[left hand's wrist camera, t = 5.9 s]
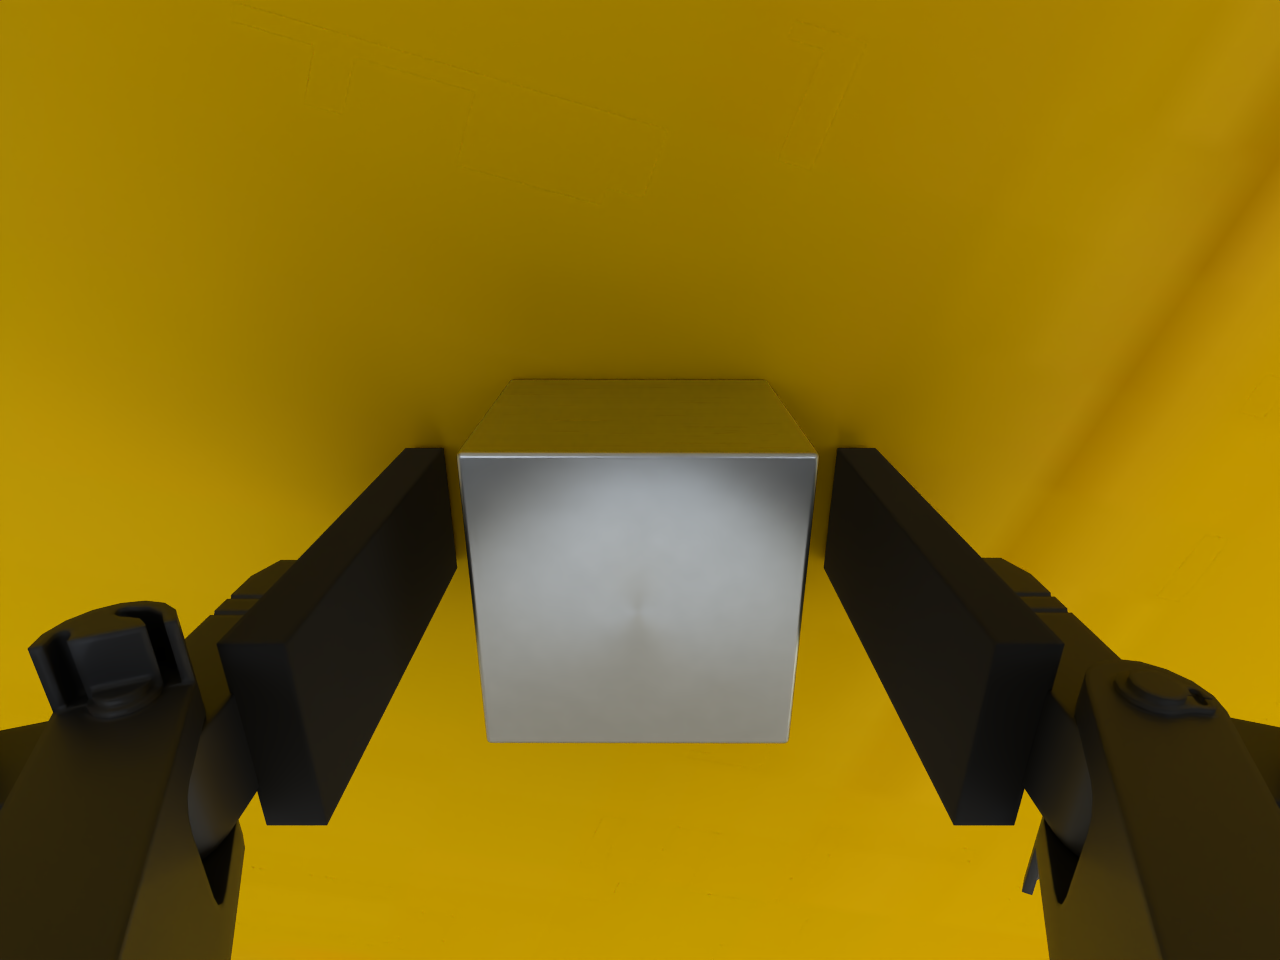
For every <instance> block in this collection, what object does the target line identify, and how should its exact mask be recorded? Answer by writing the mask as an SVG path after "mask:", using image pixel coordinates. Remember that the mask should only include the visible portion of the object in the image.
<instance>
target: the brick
mask: <svg viewBox="0 0 1280 960" xmlns="http://www.w3.org/2000/svg"><path fill="white" fill-rule="evenodd" d="M818 462H819V455H818V452H817V451H816V450H815V448H814V447H813V445H812V444H811V442H810V441H809V440H808V438H807V437H806V435H805V434H804V433H803V431H802V430H801V428H800V427H799V426H798V424H797V423H796V421H795V420H794V418H793V417H792V416H791V414H790V413H789V411H788V410H787V409H786V407H785V406H784V404H783V403H782V401H781V400H780V399H779V397H778V396H777V394H776V393H775V392H774V390H773V389H772V387H771V386H770V385H769V383H768V382H767V381H766V380H511V381H510V382H509V383H508V385H507V386H506V387H505V389H504V390H503V391H502V393H501V394H500V396H499V397H498V398H497V400H496V401H495V402H494V404H493V405H492V406H491V408H490V409H489V411H488V412H487V413H486V415H485V416H484V417H483V419H482V420H481V421H480V423H479V424H478V426H477V427H476V428H475V430H474V431H473V432H472V434H471V435H470V436H469V438H468V439H467V441H466V442H465V443H464V445H463V446H462V447H461V449H460V450H459V451H458V453H457V465H458V474H459V483H460V493H461V502H462V511H463V521H464V530H465V539H466V548H467V558H468V567H469V576H470V586H471V595H472V604H473V613H474V623H475V632H476V641H477V651H478V660H479V669H480V678H481V688H482V697H483V706H484V716H485V725H486V734H487V740H488V742H491V743H786V742H788V740H789V733H790V723H791V714H792V705H793V695H794V686H795V677H796V667H797V658H798V649H799V640H800V630H801V621H802V612H803V602H804V593H805V584H806V574H807V565H808V556H809V546H810V537H811V528H812V518H813V509H814V500H815V490H816V481H817V472H818Z"/></svg>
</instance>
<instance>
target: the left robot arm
mask: <svg viewBox="0 0 1280 960" xmlns="http://www.w3.org/2000/svg"><path fill="white" fill-rule="evenodd" d="M456 569H457V562H456V553H455V545H454V536H453V527H452V518H451V510H450V501H449V492H448V483H447V475H446V466H445V457H444V448H405V449H404V450H403V451H402V452H401V454H400V455H399V456H398V457H397V458H396V459H395V460H394V461H393V462H392V463H391V464H390V465H389V466H388V467H387V468H386V469H385V470H384V471H383V472H382V473H381V474H380V475H379V476H378V477H377V478H376V479H375V480H374V481H373V482H372V483H371V484H370V486H369V487H368V488H367V489H366V490H365V491H364V492H363V493H362V494H361V495H360V496H359V497H358V498H357V499H356V500H355V501H354V502H353V503H352V504H351V505H350V506H349V507H348V508H347V509H346V510H345V511H344V512H343V513H342V514H341V515H340V516H339V518H338V519H337V520H336V521H335V522H334V523H333V524H332V525H331V526H330V527H329V528H328V529H327V530H326V531H325V532H324V533H323V534H322V535H321V536H320V537H319V538H318V539H317V540H316V541H315V542H314V543H313V544H312V545H311V546H310V547H309V549H308V550H307V551H306V552H305V553H304V554H303V555H302V556H301V557H300V558H299V559H298V560H280V561H278V562H276V563H275V564H273V565H271V566H269V567H267V568H265V569H263V570H262V571H260V572H258V573H256V574H254V575H252V576H251V577H250V578H249V579H248V580H247V581H245V582H244V583H243V584H242V585H241V586H240V587H239V588H238V589H237V590H236V591H235V592H234V593H233V594H232V595H231V599H227V600H226V601H224V602H223V603H222V604H221V605H220V606H219V607H218V608H217V609H216V610H215V611H214V612H215V613H214V615H210V616H209V617H208V618H207V619H206V620H204V621H203V622H202V623H201V624H200V625H199V626H198V627H197V628H196V629H195V630H194V631H193V632H192V633H191V634H190V635H189V636H188V637H187V638H186V639H184V636H183V632H182V629H181V626H180V622H179V619H178V616H177V612H176V610H175V609H174V608H172V607H171V606H169V605H167V604H166V603H161V602H152V601H138V602H128V603H119V604H115V605H111V606H107V607H103V608H99V609H95V610H92V611H89V612H87V613H84V614H82V615H79V616H77V617H74V618H72V619H69V620H66V621H64V622H63V623H61V624H59V625H58V626H56V627H54V628H52V629H51V630H49V631H47V632H45V633H44V634H42V635H41V636H40V637H39V638H38V639H37V640H36V641H35V642H34V643H33V644H32V645H31V646H30V647H29V648H28V651H29V654H30V656H31V658H32V661H33V663H34V666H35V668H36V671H37V673H38V676H39V678H40V681H41V683H42V686H43V688H44V691H45V693H46V696H47V698H48V701H49V703H50V706H51V708H52V710H53V714H52V716H51V718H50V719H49V721H47V722H42V723H37V724H32V725H27V726H21V727H16V728H11V729H6V730H1V731H0V960H231V953H232V945H233V937H234V929H235V921H236V913H237V905H238V898H239V890H240V882H241V874H242V866H243V858H244V851H245V846H244V840H243V834H242V830H241V827H240V824H239V820H238V819H239V818H240V816H241V815H242V813H243V812H244V810H245V809H246V807H247V805H248V804H249V802H250V801H251V799H252V798H253V796H254V795H255V793H256V792H258V796H259V799H260V803H261V806H262V810H263V813H264V817H265V821H266V824H267V825H327V824H328V822H329V820H330V818H331V816H332V814H333V812H334V810H335V808H336V807H337V805H338V803H339V801H340V799H341V797H342V795H343V793H344V791H345V789H346V787H347V785H348V783H349V781H350V779H351V777H352V775H353V773H354V771H355V769H356V767H357V765H358V763H359V761H360V759H361V757H362V755H363V753H364V751H365V749H366V747H367V745H368V743H369V741H370V739H371V737H372V735H373V733H374V731H375V729H376V727H377V725H378V723H379V721H380V719H381V717H382V715H383V714H384V712H385V710H386V708H387V706H388V704H389V702H390V700H391V698H392V696H393V694H394V692H395V690H396V688H397V686H398V684H399V682H400V680H401V678H402V676H403V674H404V672H405V670H406V668H407V666H408V664H409V662H410V660H411V658H412V656H413V654H414V652H415V650H416V648H417V646H418V644H419V642H420V640H421V638H422V636H423V634H424V632H425V630H426V628H427V626H428V624H429V622H430V621H431V619H432V617H433V615H434V613H435V611H436V609H437V607H438V605H439V603H440V601H441V599H442V597H443V595H444V593H445V591H446V589H447V587H448V585H449V583H450V581H451V579H452V577H453V575H454V573H455V571H456ZM824 569H825V571H826V573H827V575H828V577H829V579H830V581H831V583H832V585H833V587H834V589H835V591H836V593H837V595H838V597H839V599H840V601H841V603H842V605H843V607H844V609H845V611H846V613H847V615H848V617H849V619H850V621H851V623H852V625H853V627H854V629H855V631H856V633H857V635H858V637H859V639H860V641H861V642H862V644H863V646H864V648H865V650H866V652H867V654H868V656H869V658H870V660H871V662H872V664H873V666H874V668H875V670H876V672H877V674H878V676H879V678H880V680H881V682H882V684H883V686H884V688H885V690H886V692H887V694H888V696H889V698H890V700H891V702H892V704H893V706H894V708H895V710H896V712H897V714H898V716H899V718H900V720H901V722H902V724H903V726H904V728H905V730H906V732H907V733H908V735H909V737H910V739H911V741H912V743H913V745H914V747H915V749H916V751H917V753H918V755H919V757H920V759H921V761H922V763H923V765H924V767H925V769H926V771H927V773H928V775H929V777H930V779H931V781H932V783H933V785H934V787H935V789H936V791H937V793H938V795H939V797H940V799H941V801H942V803H943V805H944V807H945V809H946V811H947V813H948V815H949V817H950V819H951V821H952V823H953V825H1014V824H1015V821H1016V817H1017V813H1018V810H1019V806H1020V803H1021V799H1022V795H1023V792H1024V788H1025V790H1026V791H1027V793H1028V794H1029V796H1030V797H1031V799H1032V800H1033V802H1034V803H1035V805H1036V806H1037V808H1038V810H1039V811H1040V813H1041V814H1042V816H1043V817H1042V820H1041V824H1040V827H1039V830H1038V834H1037V837H1036V840H1035V844H1034V847H1033V850H1032V854H1031V857H1030V860H1029V864H1028V867H1027V870H1026V874H1025V877H1024V883H1023V889H1022V892H1024V893H1027V894H1030V895H1032V894H1033V891H1034V887H1035V884H1036V881H1037V880H1038V879H1039V880H1040V888H1041V895H1042V903H1043V911H1044V919H1045V927H1046V934H1047V942H1048V950H1049V958H1050V960H1280V727H1275V726H1270V725H1265V724H1260V723H1255V722H1250V721H1245V720H1240V719H1234V718H1230V716H1229V714H1228V712H1227V711H1226V710H1225V709H1224V707H1223V706H1222V705H1221V704H1220V703H1219V702H1218V700H1217V699H1216V698H1215V697H1214V696H1213V695H1212V694H1210V693H1209V692H1207V691H1206V690H1204V689H1203V688H1201V687H1200V686H1198V685H1197V684H1196V683H1194V682H1193V681H1191V680H1188V679H1186V678H1184V677H1182V676H1180V675H1178V674H1175V673H1173V672H1171V671H1169V670H1167V669H1164V668H1160V667H1157V666H1153V665H1150V664H1146V663H1143V662H1139V661H1130V660H1121V659H1120V658H1119V657H1118V656H1117V655H1116V654H1115V653H1114V652H1113V651H1112V650H1111V649H1110V648H1109V647H1107V646H1106V645H1105V644H1104V643H1103V642H1102V641H1101V640H1100V639H1099V638H1098V637H1097V636H1096V635H1095V634H1094V633H1093V632H1092V631H1091V630H1089V629H1088V628H1087V627H1086V626H1085V625H1084V624H1083V623H1082V622H1081V621H1080V620H1079V619H1078V618H1077V617H1076V616H1075V615H1074V614H1073V613H1068V612H1067V608H1066V607H1065V606H1064V605H1063V604H1062V603H1061V602H1060V601H1059V600H1058V599H1057V598H1056V597H1051V593H1050V592H1049V591H1048V590H1047V589H1046V588H1045V587H1044V586H1043V585H1042V584H1041V583H1040V582H1039V581H1038V580H1036V579H1035V578H1034V577H1033V576H1032V575H1031V574H1030V573H1028V572H1026V571H1024V570H1022V569H1020V568H1019V567H1017V566H1015V565H1013V564H1011V563H1009V562H1007V561H1006V560H1004V559H1002V558H981V557H980V556H979V555H978V554H977V553H976V552H975V551H974V550H973V549H972V547H971V546H970V545H969V544H968V543H967V542H966V541H965V540H964V539H963V538H962V537H961V536H960V535H959V534H958V533H957V532H956V531H955V530H954V529H953V528H952V527H951V526H950V525H949V524H948V523H947V522H946V521H945V520H944V519H943V518H942V517H941V515H940V514H939V513H938V512H937V511H936V510H935V509H934V508H933V507H932V506H931V505H930V504H929V503H928V502H927V501H926V500H925V499H924V498H923V497H922V496H921V495H920V494H919V493H918V492H917V491H916V490H915V489H914V488H913V487H912V486H911V485H910V483H909V482H908V481H907V480H906V479H905V478H904V477H903V476H902V475H901V474H900V473H899V472H898V471H897V470H896V469H895V468H894V467H893V466H892V465H891V464H890V463H889V462H888V461H887V460H886V459H885V458H884V457H883V456H882V455H881V454H880V453H879V451H878V450H877V449H876V448H837V457H836V465H835V474H834V483H833V492H832V500H831V509H830V518H829V526H828V535H827V544H826V552H825V561H824Z"/></svg>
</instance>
